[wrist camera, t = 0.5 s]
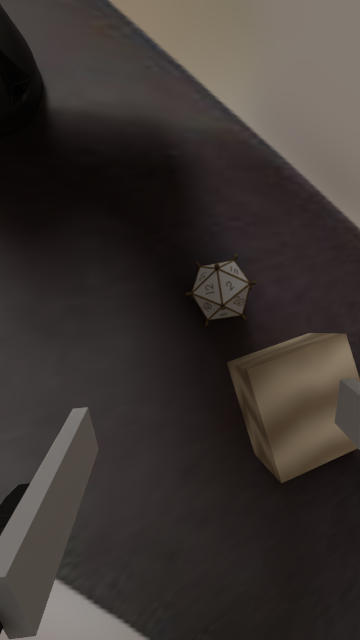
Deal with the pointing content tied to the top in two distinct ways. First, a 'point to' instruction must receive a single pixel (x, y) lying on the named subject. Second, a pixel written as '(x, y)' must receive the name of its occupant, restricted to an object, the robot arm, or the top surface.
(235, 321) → the top surface
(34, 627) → the robot arm
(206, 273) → the game die
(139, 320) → the top surface
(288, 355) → the birch block
